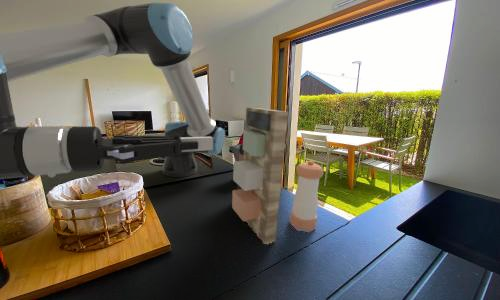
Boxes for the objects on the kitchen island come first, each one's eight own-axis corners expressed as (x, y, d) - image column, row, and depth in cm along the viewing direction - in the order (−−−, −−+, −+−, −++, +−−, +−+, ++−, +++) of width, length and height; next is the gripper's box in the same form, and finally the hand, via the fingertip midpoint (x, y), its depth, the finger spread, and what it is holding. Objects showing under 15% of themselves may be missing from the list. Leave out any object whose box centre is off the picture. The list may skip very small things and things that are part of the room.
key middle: (233, 179, 53) (233, 161, 52) (250, 177, 55) (251, 159, 54) (244, 190, 47) (245, 170, 46) (263, 187, 49) (264, 168, 48)
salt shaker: (314, 235, 54) (325, 167, 50) (287, 228, 56) (295, 162, 52) (316, 221, 61) (325, 159, 56) (291, 215, 63) (298, 155, 59)
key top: (242, 149, 52) (243, 130, 51) (259, 148, 55) (260, 129, 53) (255, 156, 46) (257, 135, 45) (274, 155, 49) (275, 134, 47)
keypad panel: (238, 215, 61) (244, 107, 53) (249, 213, 63) (256, 107, 55) (262, 245, 49) (274, 111, 41) (275, 241, 51) (288, 111, 43)
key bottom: (232, 207, 55) (232, 190, 54) (248, 204, 57) (249, 187, 56) (243, 221, 49) (244, 202, 48) (261, 217, 51) (262, 198, 50)
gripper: (83, 160, 40) (203, 152, 51) (62, 186, 29) (221, 168, 40) (78, 122, 38) (203, 122, 49) (53, 133, 27) (222, 130, 38)
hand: (211, 143), depth 44 cm, fingers closed
